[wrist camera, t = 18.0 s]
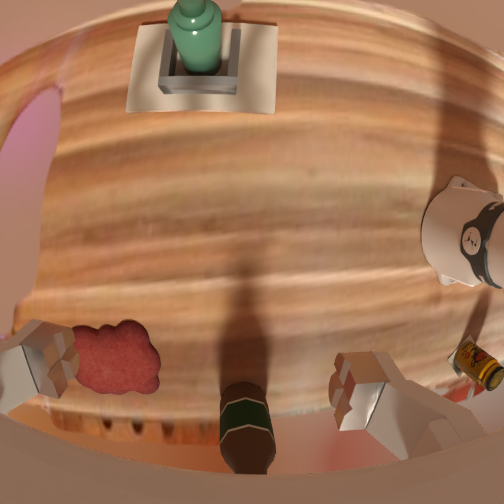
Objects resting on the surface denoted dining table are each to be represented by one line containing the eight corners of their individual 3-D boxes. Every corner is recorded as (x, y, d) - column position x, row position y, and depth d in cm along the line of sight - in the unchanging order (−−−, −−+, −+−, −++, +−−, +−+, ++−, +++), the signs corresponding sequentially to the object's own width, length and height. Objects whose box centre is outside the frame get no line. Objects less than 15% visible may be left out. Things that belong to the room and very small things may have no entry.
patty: (149, 317, 44) (146, 323, 42) (171, 390, 47) (169, 397, 45) (57, 325, 43) (52, 330, 41) (84, 392, 46) (81, 398, 44)
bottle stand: (276, 29, 36) (282, 13, 31) (273, 115, 39) (279, 105, 34) (141, 29, 34) (132, 13, 29) (128, 113, 37) (115, 104, 32)
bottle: (223, 47, 35) (224, -44, 15) (220, 79, 36) (217, -2, 16) (185, 47, 34) (160, -41, 15) (181, 79, 35) (148, 2, 16)
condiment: (469, 332, 50) (505, 358, 38) (479, 352, 51) (511, 377, 40) (446, 359, 50) (480, 388, 39) (458, 376, 52) (488, 404, 40)
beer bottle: (219, 380, 46) (219, 504, 23) (268, 380, 47) (294, 500, 24) (220, 414, 48) (221, 530, 25) (264, 414, 49) (286, 527, 25)
